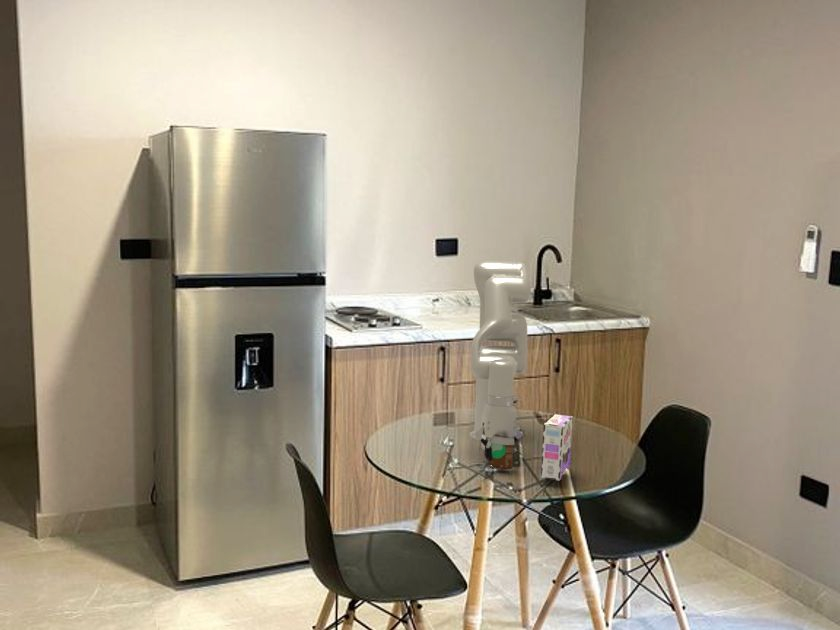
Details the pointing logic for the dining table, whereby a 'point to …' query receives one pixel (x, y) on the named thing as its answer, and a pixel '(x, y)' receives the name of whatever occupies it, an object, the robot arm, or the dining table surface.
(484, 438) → the salt cellar
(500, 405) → the robot arm
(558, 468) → the candy box
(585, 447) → the dining table surface
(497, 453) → the food container
